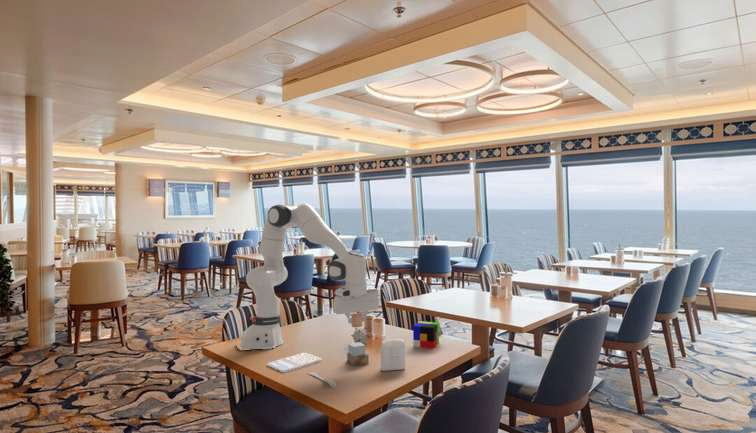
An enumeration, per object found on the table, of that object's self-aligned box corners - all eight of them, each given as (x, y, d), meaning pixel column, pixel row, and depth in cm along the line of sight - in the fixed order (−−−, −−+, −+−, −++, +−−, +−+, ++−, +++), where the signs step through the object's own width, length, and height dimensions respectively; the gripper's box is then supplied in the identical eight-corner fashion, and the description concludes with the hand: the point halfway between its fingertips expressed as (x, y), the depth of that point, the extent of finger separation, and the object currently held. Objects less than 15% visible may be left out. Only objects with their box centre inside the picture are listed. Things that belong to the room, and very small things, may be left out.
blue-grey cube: (353, 356, 183) (353, 347, 183) (348, 352, 188) (348, 343, 188) (365, 354, 186) (365, 345, 186) (360, 351, 191) (360, 342, 191)
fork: (313, 378, 177) (312, 371, 177) (339, 388, 160) (339, 381, 160) (307, 380, 175) (306, 373, 175) (333, 390, 158) (332, 382, 158)
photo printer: (403, 366, 182) (403, 336, 182) (406, 369, 178) (406, 339, 178) (379, 368, 180) (379, 338, 180) (382, 372, 176) (381, 341, 175)
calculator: (322, 362, 190) (322, 357, 190) (283, 374, 175) (283, 369, 175) (304, 355, 199) (304, 351, 199) (265, 366, 185) (265, 362, 185)
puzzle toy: (413, 346, 209) (413, 325, 209) (419, 341, 218) (419, 321, 218) (433, 348, 205) (433, 327, 205) (438, 343, 214) (438, 322, 214)
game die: (363, 350, 215) (374, 333, 218) (360, 349, 207) (372, 331, 210) (348, 340, 218) (359, 323, 220) (345, 339, 210) (357, 321, 212)
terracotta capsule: (354, 327, 184) (353, 315, 184) (349, 325, 188) (349, 313, 188) (364, 326, 186) (363, 314, 186) (359, 324, 190) (359, 312, 190)
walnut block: (353, 366, 183) (353, 357, 183) (347, 361, 189) (347, 352, 189) (368, 364, 186) (368, 354, 186) (362, 359, 192) (361, 350, 192)
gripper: (375, 286, 194) (375, 317, 194) (331, 290, 185) (332, 323, 185) (381, 288, 189) (381, 320, 189) (336, 293, 180) (337, 326, 180)
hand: (356, 322), depth 187 cm, fingers closed on terracotta capsule, 5 cm apart
